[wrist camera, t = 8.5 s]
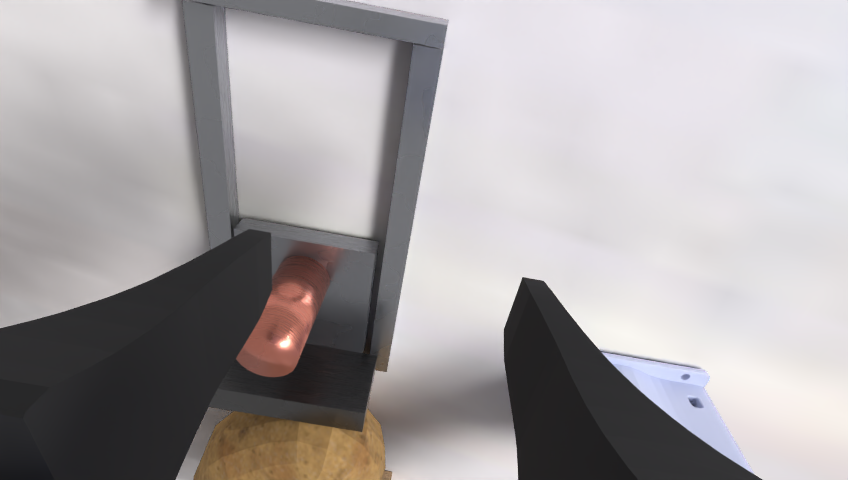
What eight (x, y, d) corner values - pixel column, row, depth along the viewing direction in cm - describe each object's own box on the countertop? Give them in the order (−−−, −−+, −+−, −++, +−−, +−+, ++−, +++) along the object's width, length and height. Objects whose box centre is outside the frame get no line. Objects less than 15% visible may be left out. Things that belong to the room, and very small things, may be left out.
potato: (192, 400, 32) (120, 516, 25) (331, 321, 27) (287, 439, 20) (288, 468, 36) (247, 584, 29) (425, 409, 31) (415, 534, 24)
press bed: (492, 28, 18) (504, 52, 13) (388, 485, 36) (377, 570, 31) (146, -39, 18) (18, -41, 12) (218, 457, 36) (178, 539, 31)
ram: (395, 244, 23) (374, 333, 18) (377, 358, 28) (356, 458, 22) (226, 214, 23) (150, 295, 17) (236, 334, 28) (179, 429, 22)
